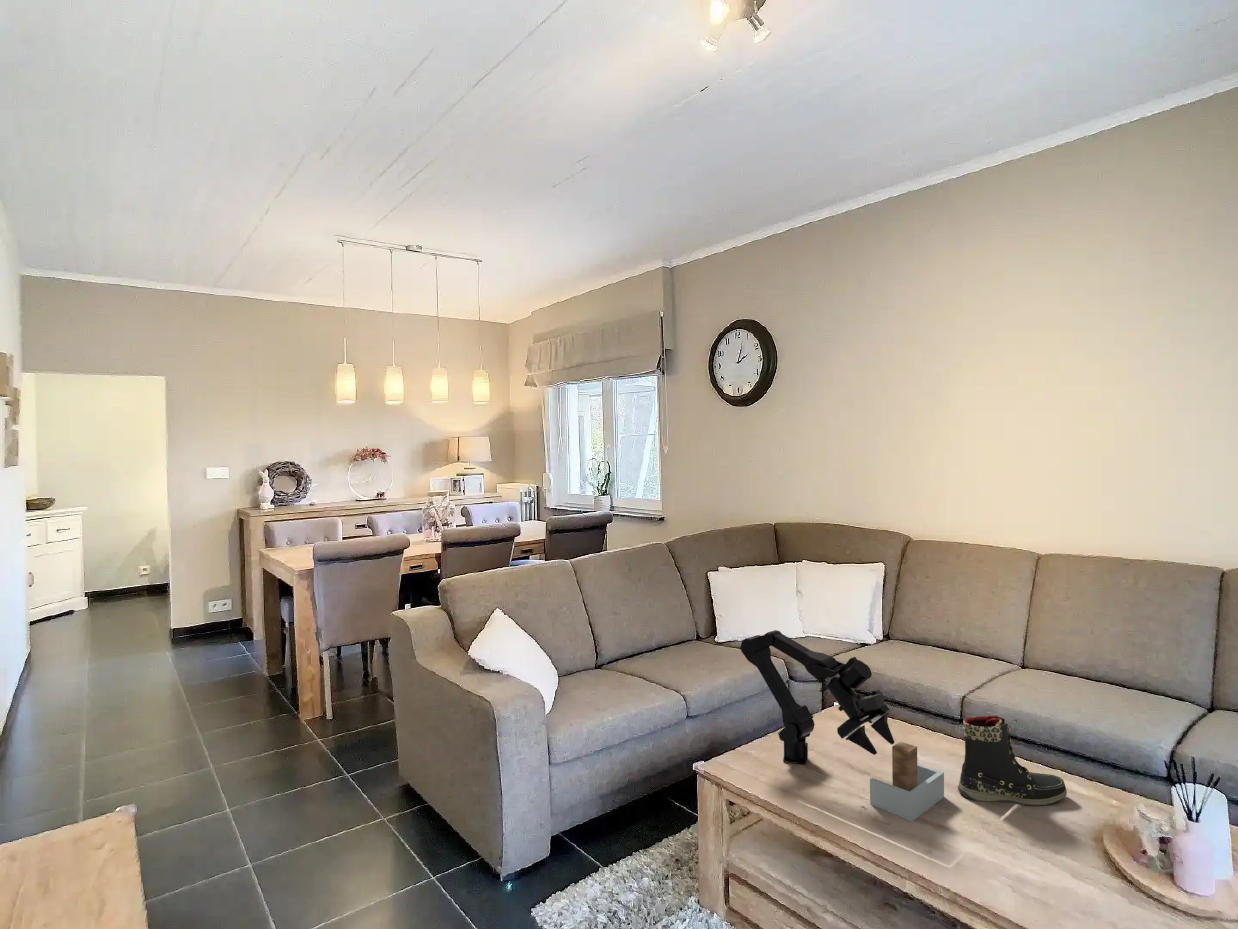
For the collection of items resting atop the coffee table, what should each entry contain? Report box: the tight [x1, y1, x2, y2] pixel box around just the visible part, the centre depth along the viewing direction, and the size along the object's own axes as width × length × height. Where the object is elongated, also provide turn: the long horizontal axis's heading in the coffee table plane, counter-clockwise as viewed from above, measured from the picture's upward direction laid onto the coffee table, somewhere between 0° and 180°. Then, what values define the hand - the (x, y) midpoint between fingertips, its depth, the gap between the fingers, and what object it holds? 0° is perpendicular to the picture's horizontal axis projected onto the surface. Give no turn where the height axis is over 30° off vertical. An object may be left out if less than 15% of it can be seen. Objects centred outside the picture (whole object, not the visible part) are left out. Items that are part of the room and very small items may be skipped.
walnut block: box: [891, 741, 918, 792], centre depth 181 cm, size 4×4×14 cm
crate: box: [869, 762, 945, 822], centre depth 180 cm, size 11×17×7 cm, turn 131°
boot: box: [957, 715, 1068, 807], centre depth 182 cm, size 12×27×20 cm, turn 102°
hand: (884, 748), depth 185 cm, fingers open, 9 cm apart
